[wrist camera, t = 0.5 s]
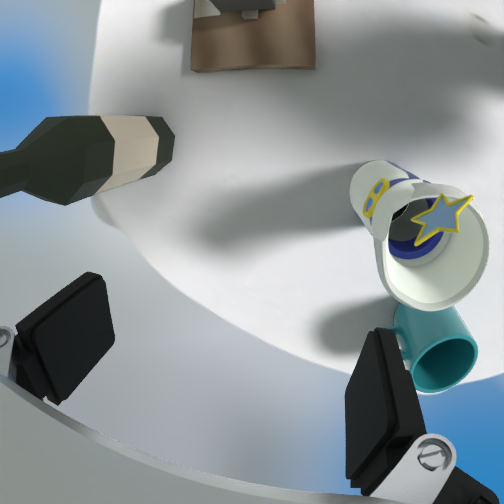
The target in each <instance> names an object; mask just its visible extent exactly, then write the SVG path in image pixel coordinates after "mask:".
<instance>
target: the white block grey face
mask: <svg viewBox="0 0 504 504" xmlns="http://www.w3.org/2000/svg"><path fill="white" fill-rule="evenodd" d="M206 1H207V2H208V3H209V4H210V5H211V6H212V7H213V8H217V9H218V10H219V11H220V12H221V13H222V12H231V11H243V10H258V9H276V3H286V0H206Z"/></svg>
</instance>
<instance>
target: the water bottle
mask: <svg viewBox="0 0 504 504" xmlns="http://www.w3.org/2000/svg"><path fill="white" fill-rule="evenodd" d="M349 196H350V201H351V204H352V206H353V208H354V210H355V211H356V213H357V214H358V215H359V217H360V218H361V219H362V221H363V223H364V225H365V226H366V228H367V230H368V231H369V232H370V234H371V235H372V236H373V239H374V248H375V256H376V262H377V268H378V272H379V276H380V279H381V281H382V283H383V285H384V287H385V289H386V290H387V292H388V293H389V294H390V295H391V296H392V297H393V298H395V299H396V300H397V301H399V302H401V303H402V304H404V305H406V306H408V307H411V308H415V309H419V310H422V311H438V310H443V309H446V308H448V307H451V306H453V305H455V304H456V303H458V302H460V301H461V300H462V299H464V298H465V297H466V296H467V295H468V294H469V293H470V292H471V291H472V290H473V289H474V288H475V287H476V285H477V284H478V282H479V281H480V279H481V277H482V275H483V273H484V271H485V269H486V266H487V262H488V258H489V251H490V240H489V234H488V229H487V226H486V224H485V222H484V219H483V216H482V214H481V212H480V210H479V208H478V206H477V204H476V203H475V202H474V200H473V196H472V195H468V194H466V193H465V192H464V191H462V190H460V189H458V188H456V187H453V186H449V185H442V184H432V183H430V182H428V181H425V180H421V179H419V178H418V177H417V176H415V175H414V174H412V173H410V172H408V171H406V170H404V169H402V168H400V167H399V166H397V165H395V164H394V163H392V162H389V161H385V160H375V161H371V162H368V163H366V164H364V165H363V166H361V167H360V168H359V169H358V170H357V171H356V173H355V174H354V175H353V177H352V180H351V183H350V188H349ZM408 203H409V204H408ZM406 204H408V206H407V208H406V210H405V211H404V213H403V214H402V215H401V216H400V217H399V218H397V219H396V220H394V221H392V222H391V220H392V216H393V213H395V212H396V211H398V210H399V209H401V208H402V207H404V206H405V205H406Z"/></svg>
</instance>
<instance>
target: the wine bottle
mask: <svg viewBox="0 0 504 504" xmlns="http://www.w3.org/2000/svg"><path fill="white" fill-rule="evenodd" d="M174 139H175V135H174V134H173V133H172V131H171V130H170V128H169V127H168V125H167V124H166V122H165V121H164V119H163V118H162V117H153V116H136V115H81V116H60V117H46V118H45V119H44V120H43V121H42V122H41V123H40V124H39V125H38V126H37V127H36V128H35V129H34V130H33V131H32V132H31V133H30V134H29V135H28V136H27V137H26V138H25V139H24V140H23V141H22V142H21V143H20V144H19V145H18V146H17V148H16V149H13V150H9V151H4V152H0V198H2V197H4V196H7V195H10V194H13V193H16V192H19V191H23V192H26V193H28V194H30V195H33V196H35V197H37V198H40V199H42V200H45V201H49V202H53V203H57V204H60V205H65V206H66V205H69V204H71V203H74V202H76V201H79V200H82V199H84V198H87V197H90V196H92V195H95V194H98V193H101V192H104V191H106V190H109V189H112V188H115V187H118V186H121V185H124V184H127V183H130V182H133V181H136V180H139V179H143V178H146V177H149V176H152V175H155V174H156V173H157V172H158V171H160V170H161V169H162V168H163V167H164V166H166V165H167V164H168V163H169V162H170V161H171V160H172V153H173V146H174Z"/></svg>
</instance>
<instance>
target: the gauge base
mask: <svg viewBox="0 0 504 504" xmlns="http://www.w3.org/2000/svg"><path fill="white" fill-rule="evenodd" d="M258 68H290V69H315V23H314V0H286V3H276V9H258V10H243V11H231V12H222V13H221V12H220V11H219V10H218V9H217V8H213V7H212V6H211V5H210V4H209V3H208V2H207V1H206V0H194V11H193V27H192V47H191V70H193V71H195V72H207V71H218V70H233V69H258Z"/></svg>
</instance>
